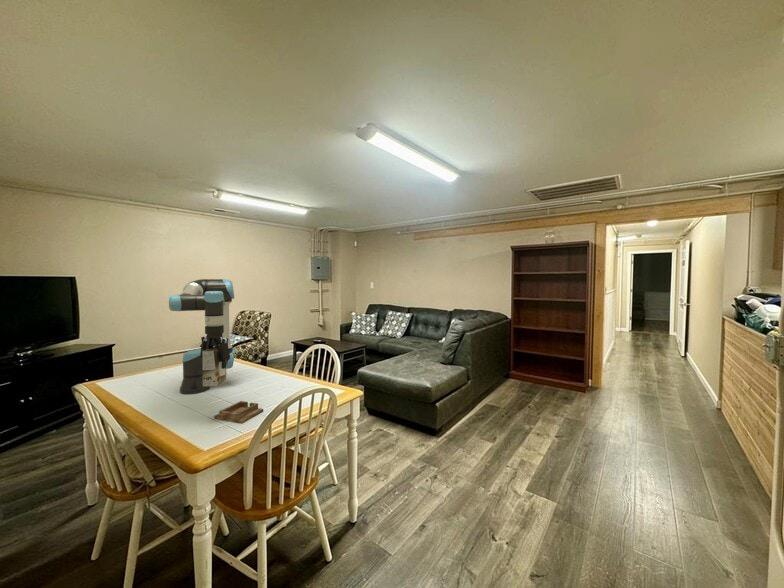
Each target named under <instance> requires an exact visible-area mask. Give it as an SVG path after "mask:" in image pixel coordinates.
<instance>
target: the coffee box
mask: <svg viewBox="0 0 784 588" xmlns="http://www.w3.org/2000/svg"><path fill="white" fill-rule="evenodd" d="M219 361H220V358H219V350H217V349H216V348H215V347H213V348H209V349H206V350H203V386H210V387H218V386H219V385H221V384H222V383H224V382H226V381H227V369H226V368H225V375H223V376H219Z"/></svg>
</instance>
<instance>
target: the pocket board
mask: <svg viewBox="0 0 784 588" xmlns="http://www.w3.org/2000/svg"><path fill="white" fill-rule="evenodd" d="M218 412H219V413H217V414H215V415H214V416H213V419H215V420H218V421H219V420H220V421H225V422H230V423H235V424H240V425H242V424H244V423H246V422H247V421H249V420H252V419H253V418H254V417H256V416H258V415H260V414H261V413H263V412H264V409H263V408H259V403H256V402H248V401H245V400H244V401H243V400H240V401H238V402H236V403H234V404H232V405H230V406H228V407H226V408H224V409H221V410H219V411H218Z"/></svg>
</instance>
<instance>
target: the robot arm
mask: <svg viewBox="0 0 784 588" xmlns="http://www.w3.org/2000/svg"><path fill="white" fill-rule="evenodd" d="M233 300H235V291H234V286H233V281H232V280H230V279H226V278H217V279H215V278H213V279H212V278H211V279H210V278H208V279H207V278H206V279H205V278H201V279H195V280H193V281H192V280H191V281H190V282H188V283H186V284H185V285H184V287H183V289H182V292H181V293H180V294H172V295H170V296H169V298H168V308H169V310H170V311H172V312H187V311H188V312H190V311H191V312H192V311H194V312H195V311H200V312H201V311H204V325H205V326H204V334H205V335H206V336H201V338H200V339H201V346H200V348H196V349H192V350H189V351H186V352H185V353H184V354H183V355H182V369H183V370H182V377H183V378H182V381H181V384H180V386H179V393H180V394H182V395H192V394H193V395H195V394H200V393H203V392H206V391H208V390H209V389H211V386H203V350H206V349H209V348H213V347H215V348H216V349H217V350H219V358H220V361H219V376H223V375H225V368H226V370H228V369H232V368H233V366H234V362H235V356H236V355H235V354H236V349H235V348H233V345H232V344H231V343H230V339H231V338H230V336H231V335H230V304H231V303H232V302H233Z"/></svg>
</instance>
